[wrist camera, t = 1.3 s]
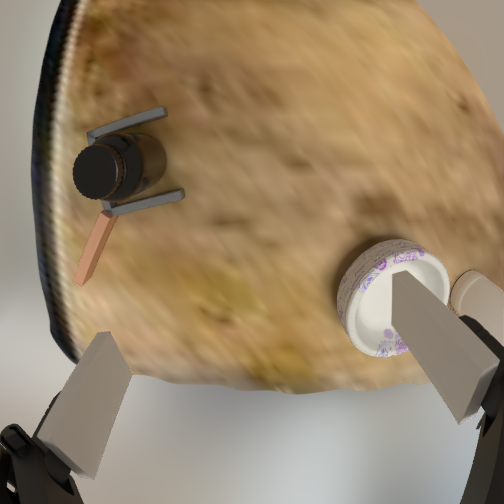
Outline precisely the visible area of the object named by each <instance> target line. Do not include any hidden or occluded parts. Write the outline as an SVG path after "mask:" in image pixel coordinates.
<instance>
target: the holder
mask: <svg viewBox="0 0 504 504" xmlns="http://www.w3.org/2000/svg"><path fill="white" fill-rule="evenodd" d="M166 116H168V115H167V109H166V108H165V107H158V108H155V109H152V110H148V111H145V112H142V113H139V114H136V115H133V116H130V117H127V118H124V119H121V120H118V121H116V122H113V123H110V124H107V125H105V126H102V127H100V128H97V129H94V130H92V131H89V132H87V138H88V144H89V146H90V145H92V144H93V143H94V142H95V141H96V140H97V139H98V138H100V137H102V136H104V135H106V134H110V133H115V132H118V131H121V130H124V129H127V128H130V127H133V126H136V125H139V124H142V123H145V122H149V121H152V120H155V119H159V118H162V117H166ZM184 197H185V194H184V190H183V189H180V190H176V191H171V192H167V193H163V194H159V195H155V196H151V197H147V198H143V199H139V200H136V201H132V202H128V203H124V204H121V205H117V204H116V202H106V201H103V200H102V204H103V207H104V211H102V212H100V214H99V216H98V219H97V221H96V223H95V225H94V228H93V230H92V232H91V235H90V237H89V240H88V242H87V245H86V247H85V250H84V252H83V255H82V257H81V260H80V263H79V265H78V268H77V271H76V274H75V277H74V279H73V281H74V282H75V283H77V284H78V285H80V286H81V287H82V286H83V285H84V284H85V283H86V282H87V281H88V280H89V279H90V278H91V275H92V273H93V270H94V268H95V265H96V263H97V261H98V258H99V256H100V254H101V251H102V249H103V247H104V245H105V242H106V240H107V238H108V236H109V234H110V231H111V229H112V227H113V225H114V223H115V221H116V219H117V217H118V215H121V214H125V213H129V212H133V211H137V210H141V209H145V208H149V207H153V206H157V205H161V204H165V203H170V202H174V201H178V200H182V199H183V198H184Z"/></svg>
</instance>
